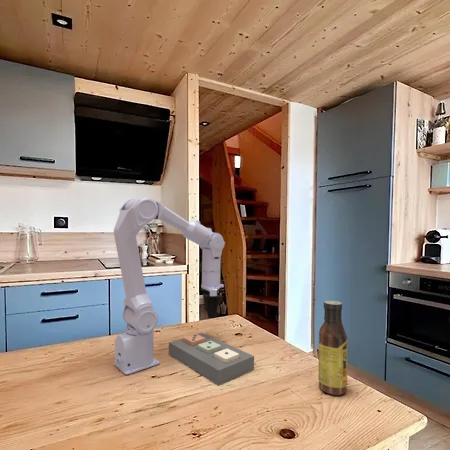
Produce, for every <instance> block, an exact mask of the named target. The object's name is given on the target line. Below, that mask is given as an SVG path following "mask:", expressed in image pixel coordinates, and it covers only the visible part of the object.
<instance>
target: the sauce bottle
mask: <svg viewBox="0 0 450 450" xmlns="http://www.w3.org/2000/svg"><path fill="white" fill-rule="evenodd" d="M323 310H324V318H323V320H324V322H323V323H322V325H321V327H320V328H319V331H318V338H319V339H318V379H317V380H318V387H319V389H320V390H321V391H323V393H326V394H328V395H332V396H340V395H344V394H345V393H346V392H347V386H348V337H347V333H346V330H345V328H344V325H343V321H342V310H343V303H342V302H341V301H337V300H325V301H323Z"/></svg>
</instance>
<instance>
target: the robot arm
mask: <svg viewBox="0 0 450 450" xmlns="http://www.w3.org/2000/svg"><path fill="white" fill-rule="evenodd" d="M154 220H155V221H156V220H158V221H161V222H163V223H165V224H167V225H169V226H171V227H173V228H176V229H177V230H179V231H181V234H182V236H183V238H185V239H187V240H189V241H191V242H192V243H194V244H196V245H198V246H199V248H200V249H201V250H202V256H201V259H202V260H201V263H202V266H201V267H202V268H201V269H202V270H201V285H200V287H201V288H200V291H201V293H202V297H203V301H204V308H205V311H206V314H207V318H208V319H216V317H217V312H218V308H219V304H220V302H221V300H222V298H223V296H222V294H218V292H219V289H221V288H224V287H225V285H224V284H223V283H221V256H222V254H223V249H224V248H225V245H226V241H224V237H223V236H222V234H220V233H219V232H213V231H212V228H210V227H206V226H204V225H203V224H201V221H199V220H198V219H195V220H191V219H190V220H188V221H187V220H186V219H184V218H183V217H182V216H181V215H178V214H177V213H176V212H174V211H173V210H171V209H169V208H168V207H166V206H165V205H164V204H163V203H161V202H159V201H157V200H155V199H153V198H152V197H149V196H145V197H141V198H131V199H128V200H126V202H125V203H123V205H121V207H120V208H119V214H118V217H117V220H116V222H115V226H114V228H113V237H114V241H115V242H114V243H115V246H116V253H117V257H118V262H119V267H120V271H121V278H122V285H123V287H124V292H125V293H124V294H125V297H124V300H123V305H124V306H123V311H122V319H123V321H124V322H125V323H126V326H125V331H124V332H123V333H121V334H118V335H117V336H115V337H116V338H115V342H114V344H115V345H114V362H113V365H114V366H115V367H117V369H118V370H120V371H121V372H122V373H123V374H124V375H130V374H134V373H137V372H139V371H142V370H146V369H149V368H152V367H156V366H157V365H160V364H161V362H160V361H159V360H157V359H156V358H155V357H154V346H155V345H154V344H155V343H154V341H155V340H154V339H155V338H154V336H155V334H154V330H155V328H156V327H157V325H158V322H159V315H158V312H156V311H155V309H154V308H153V302H152V301H151V299H150V297H149V296H148V294H147V289H146V284H145V278H144V272H143V267H142V262H141V256H140V251H139V247H138V246H139V245H138V241H137V239H138V238H137V235H138V234H139V233H140V232H141V230H142V229H143V228H144V226H146V225H147V224H149V223H151V222H153V221H154Z"/></svg>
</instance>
